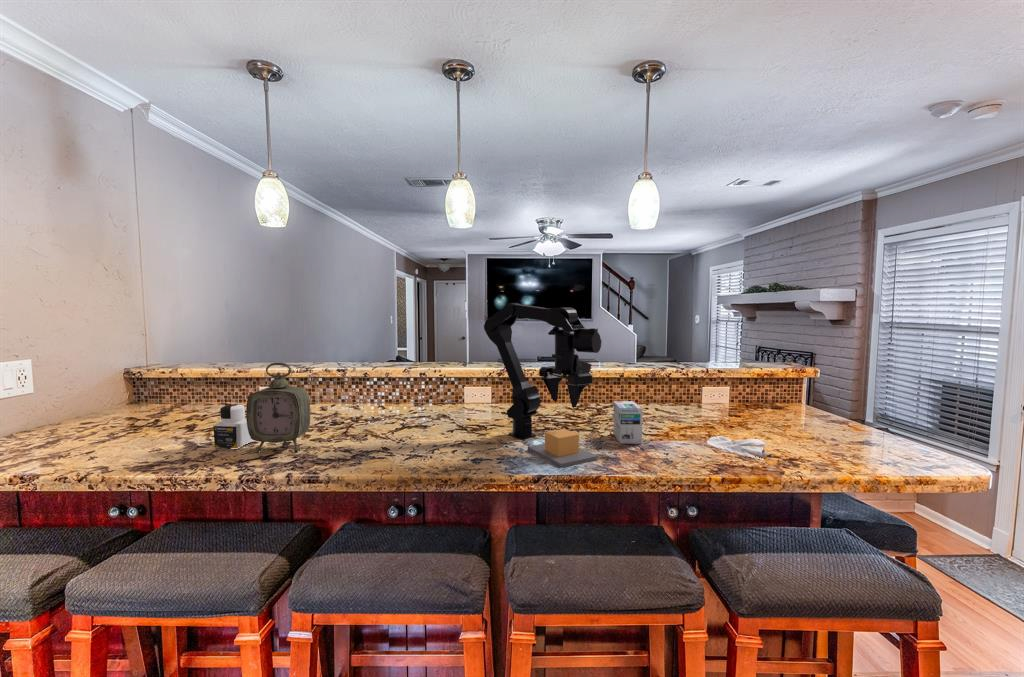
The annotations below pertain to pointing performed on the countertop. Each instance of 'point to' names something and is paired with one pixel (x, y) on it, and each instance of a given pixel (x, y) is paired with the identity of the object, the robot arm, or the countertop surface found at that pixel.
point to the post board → (563, 460)
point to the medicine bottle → (231, 428)
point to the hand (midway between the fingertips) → (564, 404)
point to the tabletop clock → (278, 412)
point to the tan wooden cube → (561, 442)
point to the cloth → (739, 446)
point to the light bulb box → (628, 422)
